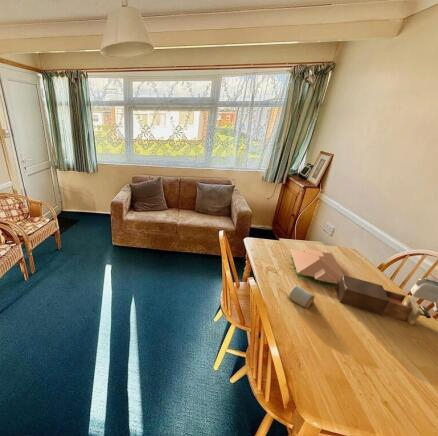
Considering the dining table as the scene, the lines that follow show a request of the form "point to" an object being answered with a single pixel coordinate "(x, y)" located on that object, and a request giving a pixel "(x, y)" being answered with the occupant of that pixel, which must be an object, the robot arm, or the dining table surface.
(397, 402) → the dining table surface
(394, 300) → the block
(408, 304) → the drawer
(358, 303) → the cabinet
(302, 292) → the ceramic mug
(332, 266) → the house
